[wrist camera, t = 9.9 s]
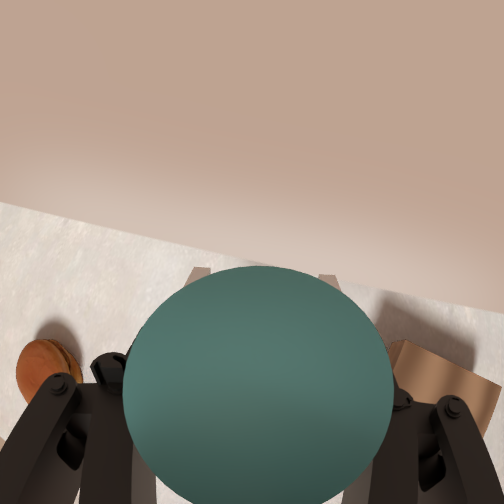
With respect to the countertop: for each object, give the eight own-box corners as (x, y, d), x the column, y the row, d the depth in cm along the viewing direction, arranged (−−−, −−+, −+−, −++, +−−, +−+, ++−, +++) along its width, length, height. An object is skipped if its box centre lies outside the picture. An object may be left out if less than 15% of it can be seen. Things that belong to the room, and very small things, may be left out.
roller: (315, 356, 16) (429, 334, 5) (274, 429, 14) (308, 545, 3) (240, 317, 17) (208, 222, 6) (198, 389, 15) (85, 430, 4)
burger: (32, 338, 29) (10, 333, 24) (83, 344, 29) (61, 339, 25) (34, 408, 25) (12, 410, 21) (87, 422, 25) (65, 427, 21)
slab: (471, 387, 25) (501, 386, 20) (444, 451, 22) (472, 460, 17) (380, 344, 28) (405, 339, 23) (344, 418, 26) (363, 429, 20)
